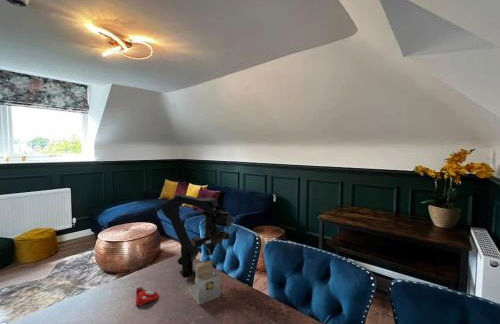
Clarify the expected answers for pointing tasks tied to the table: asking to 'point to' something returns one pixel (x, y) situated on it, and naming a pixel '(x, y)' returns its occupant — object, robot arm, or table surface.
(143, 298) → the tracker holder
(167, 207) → the robot arm
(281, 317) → the table surface
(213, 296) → the bearing block
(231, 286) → the table surface
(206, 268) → the shaft carriage
